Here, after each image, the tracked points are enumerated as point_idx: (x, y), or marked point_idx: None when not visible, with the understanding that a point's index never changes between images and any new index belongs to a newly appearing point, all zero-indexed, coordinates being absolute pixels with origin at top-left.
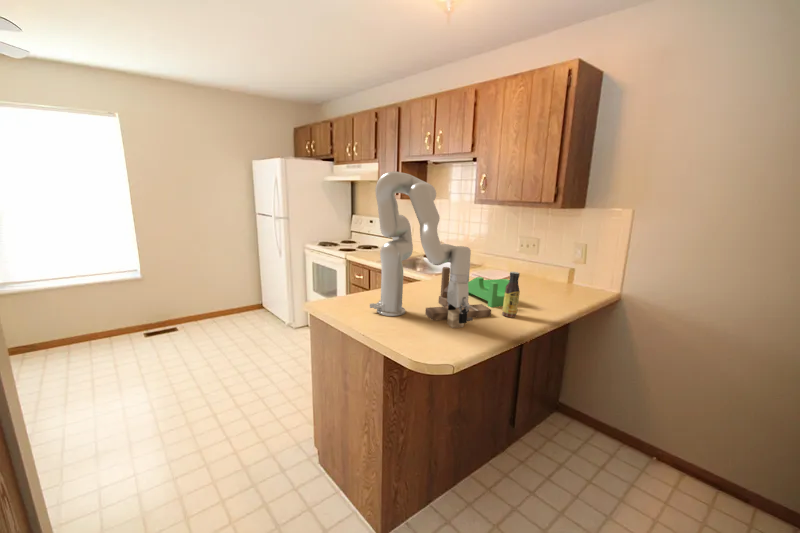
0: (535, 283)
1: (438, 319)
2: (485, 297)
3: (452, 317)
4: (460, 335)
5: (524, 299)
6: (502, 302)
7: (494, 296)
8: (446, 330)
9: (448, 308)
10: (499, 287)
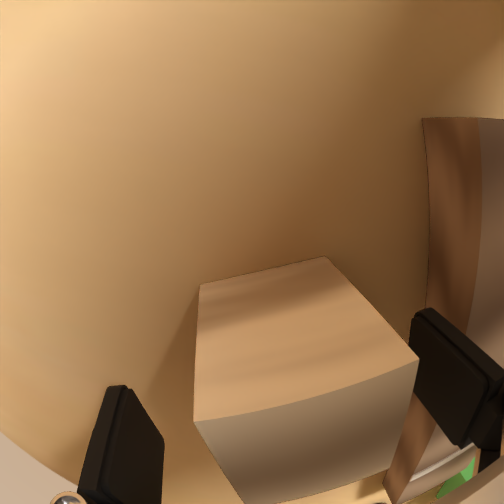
0: None
1: (433, 188)
2: None
3: (207, 363)
4: (29, 313)
5: None
6: (450, 491)
7: None
8: (118, 204)
9: (476, 358)
10: None
